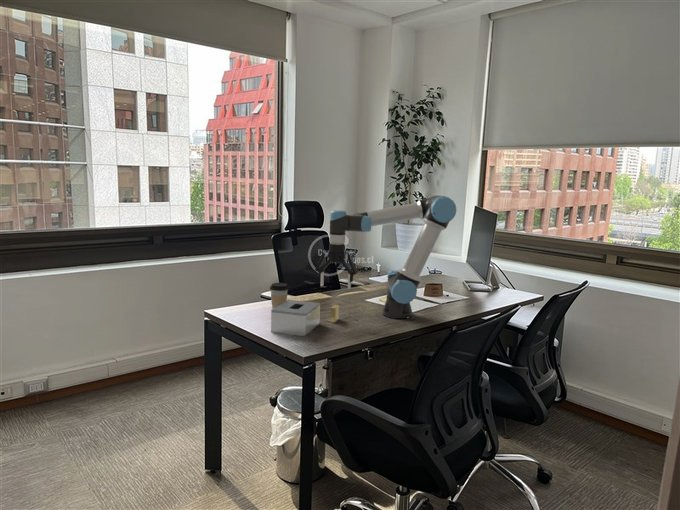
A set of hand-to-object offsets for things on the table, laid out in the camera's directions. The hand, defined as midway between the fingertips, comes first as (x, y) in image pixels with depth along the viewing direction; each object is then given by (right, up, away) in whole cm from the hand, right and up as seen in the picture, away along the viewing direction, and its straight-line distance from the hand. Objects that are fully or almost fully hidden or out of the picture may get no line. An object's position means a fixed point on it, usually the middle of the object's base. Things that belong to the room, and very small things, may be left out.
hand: (335, 287), depth 237 cm
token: (0, -16, +2) cm, 17 cm away
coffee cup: (-28, -14, +10) cm, 33 cm away
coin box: (-18, -18, -11) cm, 28 cm away
